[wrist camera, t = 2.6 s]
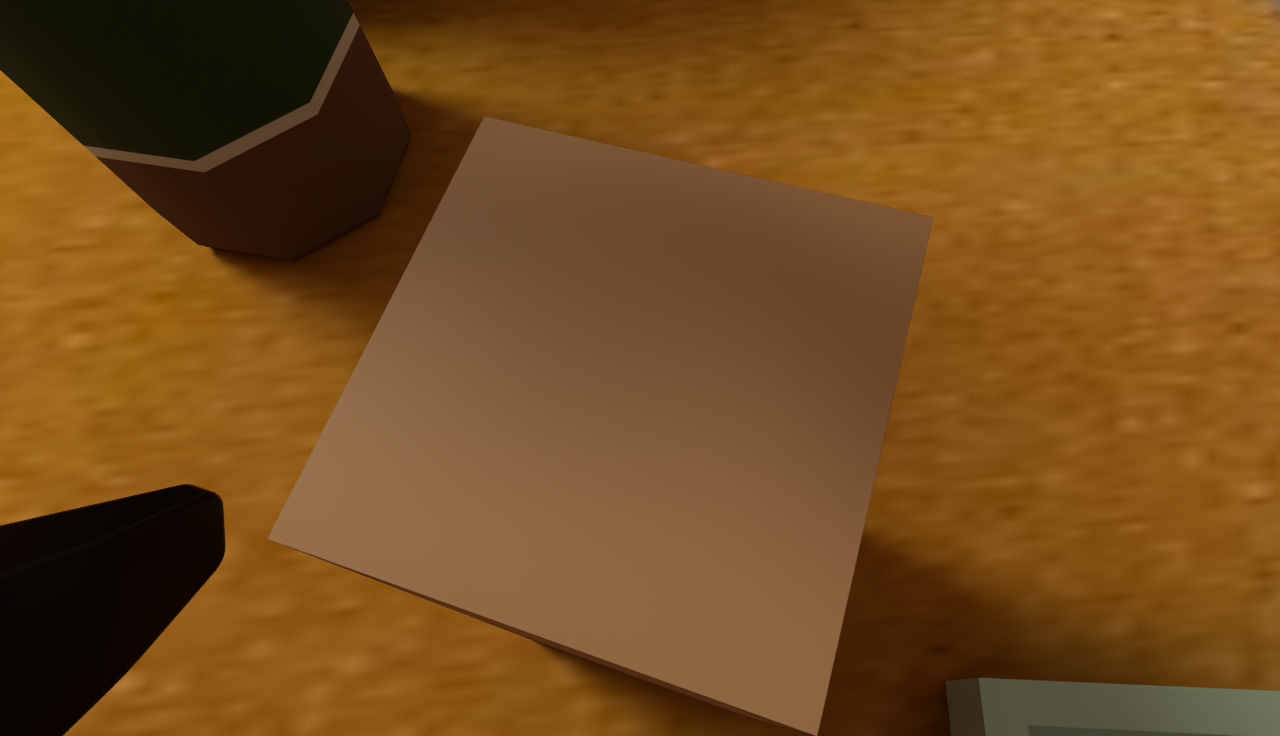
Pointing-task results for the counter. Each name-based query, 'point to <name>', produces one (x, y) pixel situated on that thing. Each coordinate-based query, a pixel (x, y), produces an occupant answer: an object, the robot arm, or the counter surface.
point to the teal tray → (1106, 709)
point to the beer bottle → (220, 110)
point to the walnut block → (627, 415)
